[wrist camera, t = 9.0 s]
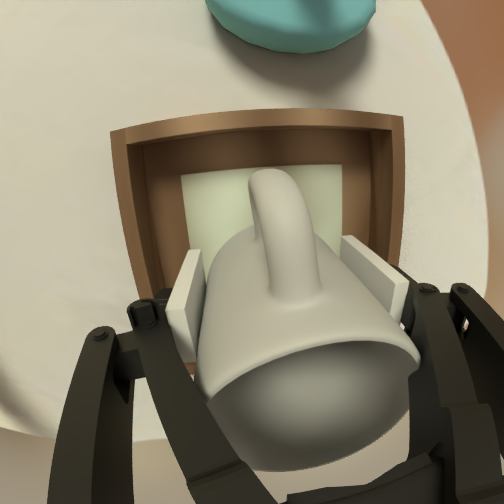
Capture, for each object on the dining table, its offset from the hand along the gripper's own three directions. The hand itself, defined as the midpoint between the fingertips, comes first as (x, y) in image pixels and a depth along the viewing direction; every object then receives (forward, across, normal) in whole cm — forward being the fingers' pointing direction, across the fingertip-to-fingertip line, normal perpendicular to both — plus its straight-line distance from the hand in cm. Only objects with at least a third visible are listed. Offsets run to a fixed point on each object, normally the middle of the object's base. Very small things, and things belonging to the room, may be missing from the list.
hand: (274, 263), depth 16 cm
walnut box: (+4, 0, 0) cm, 4 cm away
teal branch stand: (+5, +3, +20) cm, 21 cm away
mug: (+1, 0, 0) cm, 1 cm away
